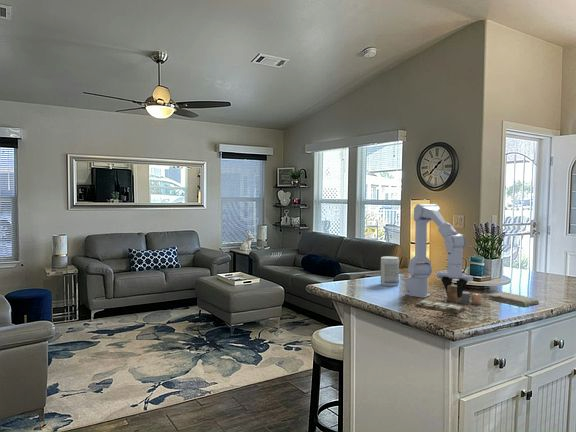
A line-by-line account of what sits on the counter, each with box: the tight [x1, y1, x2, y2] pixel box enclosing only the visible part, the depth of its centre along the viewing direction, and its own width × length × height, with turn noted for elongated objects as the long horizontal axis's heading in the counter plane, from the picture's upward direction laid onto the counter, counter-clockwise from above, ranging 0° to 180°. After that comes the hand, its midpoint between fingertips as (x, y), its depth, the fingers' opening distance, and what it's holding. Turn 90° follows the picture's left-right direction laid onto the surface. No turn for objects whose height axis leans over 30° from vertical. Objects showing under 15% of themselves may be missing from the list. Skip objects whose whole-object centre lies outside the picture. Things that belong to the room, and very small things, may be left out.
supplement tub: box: [380, 255, 400, 287], centre depth 229 cm, size 10×10×15 cm
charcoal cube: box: [457, 290, 471, 305], centre depth 191 cm, size 4×4×4 cm
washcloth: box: [488, 291, 540, 307], centre depth 194 cm, size 12×18×3 cm, turn 31°
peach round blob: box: [470, 292, 483, 305], centre depth 189 cm, size 4×4×4 cm
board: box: [414, 299, 466, 314], centre depth 181 cm, size 18×8×1 cm, turn 49°
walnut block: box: [446, 283, 461, 303], centre depth 177 cm, size 4×4×6 cm
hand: (454, 296), depth 177 cm, fingers closed on walnut block, 4 cm apart
